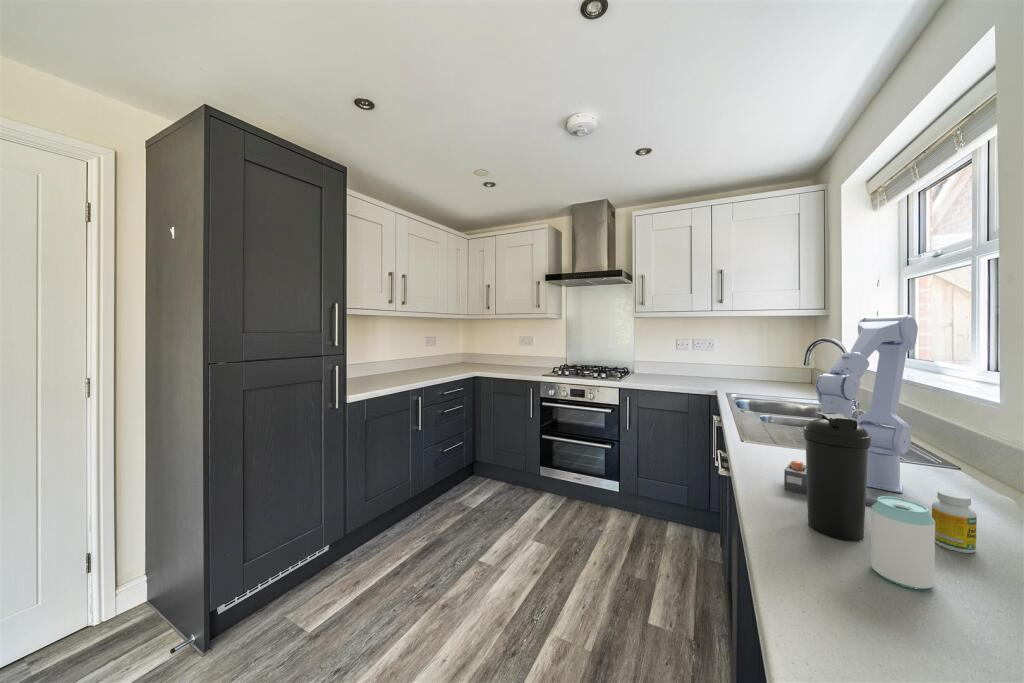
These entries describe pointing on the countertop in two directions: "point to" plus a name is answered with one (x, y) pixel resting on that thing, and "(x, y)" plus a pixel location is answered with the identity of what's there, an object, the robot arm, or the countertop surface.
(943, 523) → the supplement bottle
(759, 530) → the countertop surface
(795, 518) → the countertop surface
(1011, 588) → the countertop surface
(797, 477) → the cabinet
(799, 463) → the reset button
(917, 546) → the can
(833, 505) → the water bottle
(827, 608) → the countertop surface
